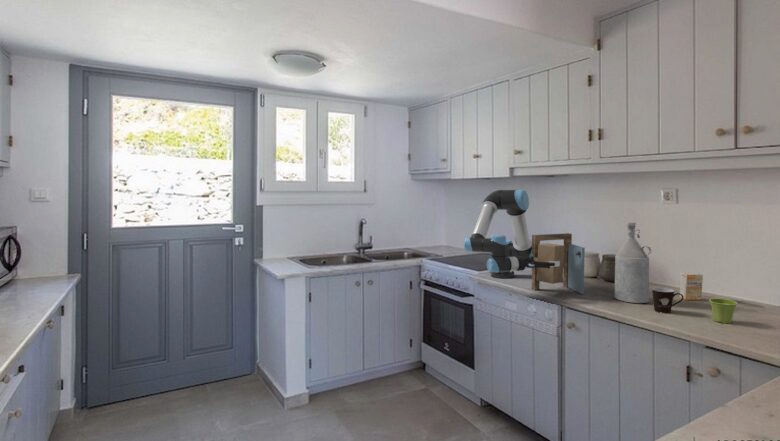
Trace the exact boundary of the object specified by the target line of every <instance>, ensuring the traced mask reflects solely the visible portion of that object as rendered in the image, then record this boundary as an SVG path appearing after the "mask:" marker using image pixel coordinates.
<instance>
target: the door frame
mask: <svg viewBox="0 0 780 441" xmlns="http://www.w3.org/2000/svg"><path fill="white" fill-rule="evenodd" d="M572 237H573V234H572V233H568V232H566V233H550V234H549V233H547V234H545V233H544V234H532V235H531V241H532V256H533V259H534V258H538V246H539V244H541V241H560V240H562V241H563V245H564V246H565V249H564V265H563V280H562V285H563V287H564V288H566V289H567V288H569V287H568V244H573V242H572V240H573V239H572ZM533 263H534V262H533ZM536 278H537V268H531V290H533V291H540V288H541V287H540V285H541V284H540V282H541V281H537V280H536ZM569 289H570V288H569Z"/></svg>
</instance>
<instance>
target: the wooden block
mask: <svg viewBox="0 0 780 441" xmlns="http://www.w3.org/2000/svg"><path fill="white" fill-rule="evenodd" d="M564 249H565V246H564V244H556V243H548V242H547V243H540V244H539V246H538V262H551V261H560V266H557V267H550V268H549V269H548V268H537V278H536V280H537V281H540V282H543V283H547V284H552V285H553V284H554V285H555V284H559V283H563V265H564Z"/></svg>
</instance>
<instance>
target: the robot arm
mask: <svg viewBox="0 0 780 441" xmlns="http://www.w3.org/2000/svg"><path fill="white" fill-rule="evenodd" d="M529 207H530V199H529V194H528V193H527V191H526V190H524V189H497V190H494V191H492V192H490V193H489V194H488V195H487V196H486V197H485V198H484V199H483V201H482V203H481V205H480V208H481V210H480V214H479V216H478V218H477V221H476V224H475V226H474V229H473V231H472V234H471V236H470V237H465V239H464V240H463V247H464V250H465V251H466V252H471V253H486V254H487V253H489V254H491V256H490V258H489V257H488V259H487V260H486V269H487V270H488V272H489V273H490V277H491V278H495V277H497V279H511V278H515V272H518V271H519V272H520V271H524V270H525V269H526V268H529V269H532V268H548V269H549V268H550V267H557V266H560V261H551V262H538V258H534V259H533V256H532V239H531V238H529V237H530V236H529V231H528V224H527V218H526V214H525V213H527V210H528V209H529ZM499 210H503V211H505V212H506V214H507V215H509V217H510V223H511V228H512V234H513V238H514V241H512V240H509V239H508V240H507V237H506V235H504V234H492V235H491V237H490V238H489V237H487V234H488V232H489V229H490V226H491V224H492V221H493V219H494V218H493V217H494V215H495V214H497V212H498V211H499ZM533 262H534V263H533Z"/></svg>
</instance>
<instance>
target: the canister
mask: <svg viewBox="0 0 780 441" xmlns="http://www.w3.org/2000/svg"><path fill="white" fill-rule="evenodd" d="M636 223H637V222H629V221H627V222H626V227H627V239H626V240H625V242H624V243H623V244H622V246H621V247H620V248H619V250H618V251H617V252H616V255H615V257H614V258H615V260H614V261H615V264H614V299H616V300H619V301H621V302H626V303H634V304H645V303H649V302H650V258H649V255H650V254H652V252H651V251H652V249H651V247H650V246H647V245H644V246H641V245H640V243H639V242H638V240H637V239H636V237H635V235H636V236H637V238H638V239H640V238H641V236H640V229H637V230H636V228H637V227H636V225H637V224H636ZM637 231H638V232H637ZM635 232H637V233H638V234H637V233H635ZM644 248H647V249H648V250H649V252H648V254H646V252H645V250H644Z"/></svg>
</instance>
